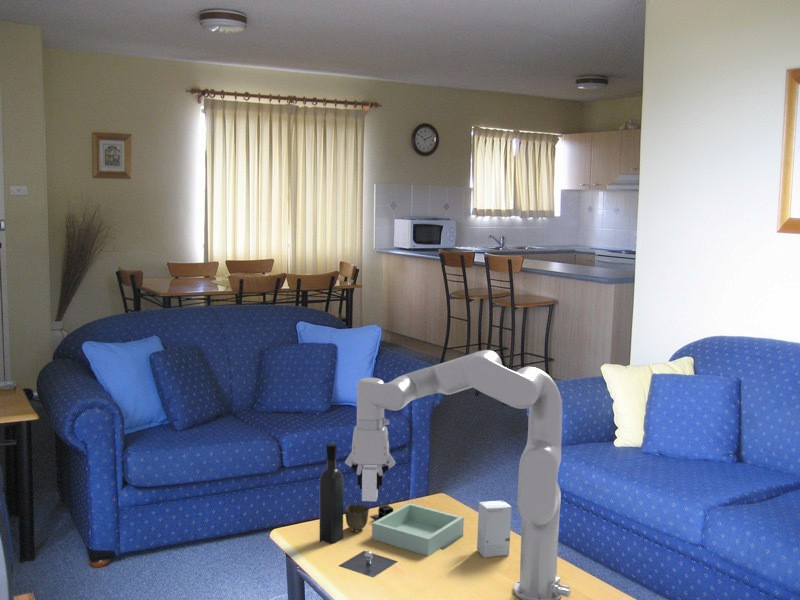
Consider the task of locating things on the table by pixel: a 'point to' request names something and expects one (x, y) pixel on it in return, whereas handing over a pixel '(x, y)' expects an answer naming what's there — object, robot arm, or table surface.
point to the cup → (356, 516)
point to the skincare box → (494, 528)
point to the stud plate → (368, 563)
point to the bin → (418, 529)
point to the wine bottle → (331, 500)
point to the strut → (369, 483)
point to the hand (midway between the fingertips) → (370, 487)
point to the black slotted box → (382, 512)
